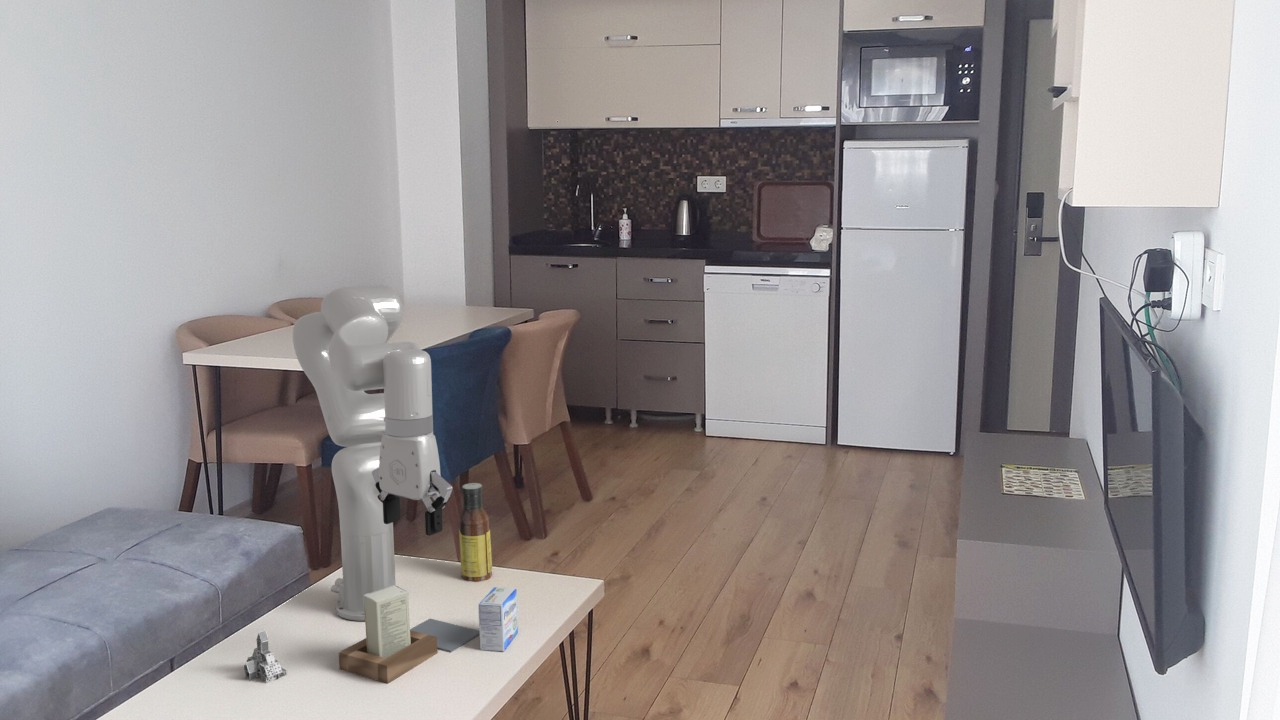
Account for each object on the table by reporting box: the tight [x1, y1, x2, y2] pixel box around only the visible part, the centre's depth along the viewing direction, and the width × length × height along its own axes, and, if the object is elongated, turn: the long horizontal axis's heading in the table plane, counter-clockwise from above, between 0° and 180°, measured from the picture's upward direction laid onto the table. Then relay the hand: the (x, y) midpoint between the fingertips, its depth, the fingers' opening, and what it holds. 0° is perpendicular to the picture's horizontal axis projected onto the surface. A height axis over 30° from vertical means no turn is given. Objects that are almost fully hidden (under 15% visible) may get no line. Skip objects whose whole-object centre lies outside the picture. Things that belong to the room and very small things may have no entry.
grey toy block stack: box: [243, 629, 288, 684], centre depth 171 cm, size 9×9×8 cm
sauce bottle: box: [458, 482, 493, 583], centre depth 211 cm, size 7×6×20 cm
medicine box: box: [478, 586, 519, 652], centre depth 183 cm, size 8×4×9 cm, turn 168°
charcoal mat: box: [410, 618, 480, 653], centre depth 186 cm, size 12×9×1 cm
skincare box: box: [364, 585, 411, 658], centre depth 175 cm, size 6×4×12 cm
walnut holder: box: [338, 630, 439, 684], centre depth 176 cm, size 10×12×3 cm
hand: (412, 527), depth 173 cm, fingers open, 9 cm apart
